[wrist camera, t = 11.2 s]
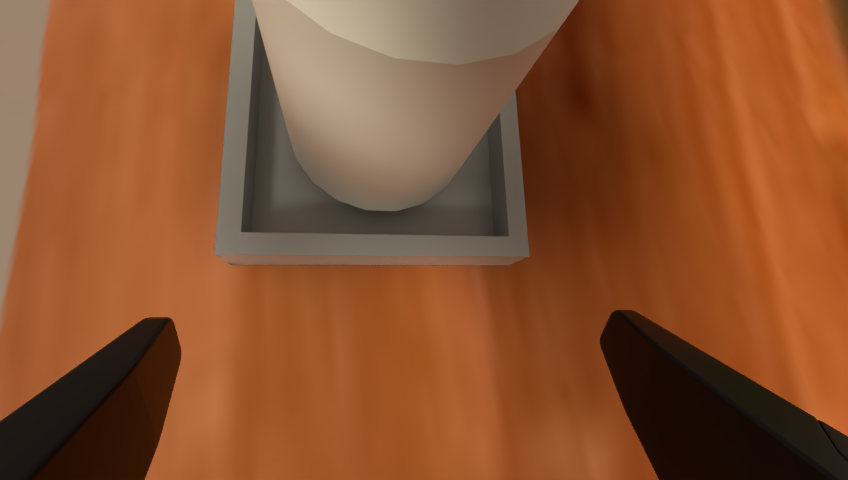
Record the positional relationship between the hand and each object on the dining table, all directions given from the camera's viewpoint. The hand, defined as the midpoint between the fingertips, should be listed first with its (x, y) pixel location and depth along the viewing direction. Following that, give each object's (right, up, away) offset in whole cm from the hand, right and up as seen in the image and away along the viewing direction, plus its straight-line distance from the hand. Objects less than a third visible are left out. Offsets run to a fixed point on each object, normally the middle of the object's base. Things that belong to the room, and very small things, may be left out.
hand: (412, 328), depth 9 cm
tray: (-2, +6, +10) cm, 12 cm away
